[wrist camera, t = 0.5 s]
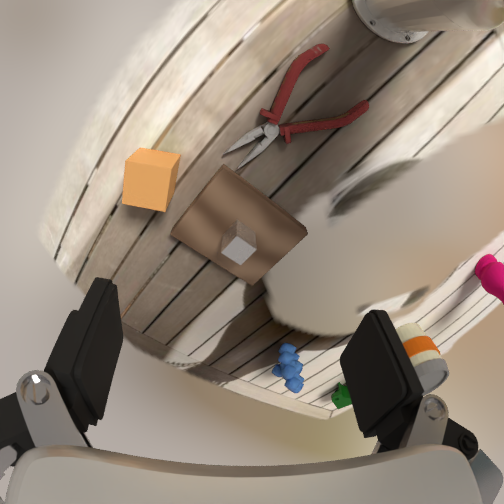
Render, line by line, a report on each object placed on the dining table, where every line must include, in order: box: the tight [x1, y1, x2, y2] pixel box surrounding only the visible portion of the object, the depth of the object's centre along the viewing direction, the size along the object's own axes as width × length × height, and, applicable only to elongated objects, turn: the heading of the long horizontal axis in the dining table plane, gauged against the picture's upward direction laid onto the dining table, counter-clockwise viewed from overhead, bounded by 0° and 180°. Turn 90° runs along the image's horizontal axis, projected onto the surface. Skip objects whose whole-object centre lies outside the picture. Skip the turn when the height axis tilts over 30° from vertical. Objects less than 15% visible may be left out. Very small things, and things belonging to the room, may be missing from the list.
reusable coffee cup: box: [396, 323, 449, 396], centre depth 58 cm, size 13×12×15 cm
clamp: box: [331, 382, 352, 409], centre depth 73 cm, size 12×6×9 cm, turn 117°
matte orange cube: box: [122, 148, 181, 212], centre depth 38 cm, size 6×6×6 cm
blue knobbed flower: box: [272, 343, 304, 393], centre depth 58 cm, size 12×7×12 cm, turn 20°
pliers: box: [223, 44, 369, 169], centre depth 36 cm, size 12×20×3 cm, turn 130°
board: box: [170, 164, 308, 285], centre depth 43 cm, size 13×16×6 cm
